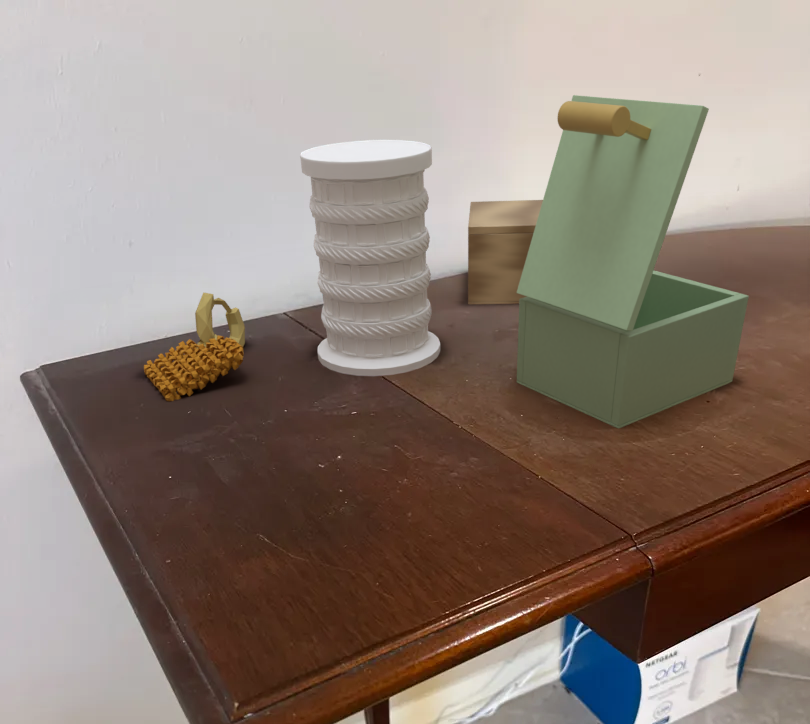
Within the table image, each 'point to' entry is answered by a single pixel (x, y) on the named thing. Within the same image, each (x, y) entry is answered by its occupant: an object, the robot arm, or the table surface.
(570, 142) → the lid
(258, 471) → the table surface
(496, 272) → the cabinet
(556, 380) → the chest
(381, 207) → the decorative container
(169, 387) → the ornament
